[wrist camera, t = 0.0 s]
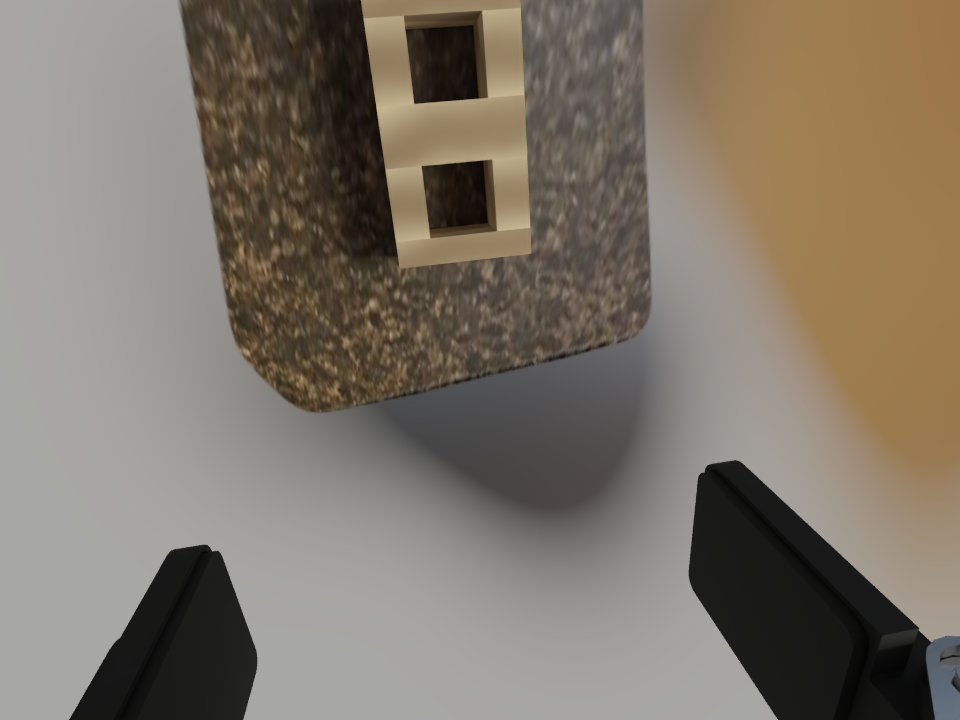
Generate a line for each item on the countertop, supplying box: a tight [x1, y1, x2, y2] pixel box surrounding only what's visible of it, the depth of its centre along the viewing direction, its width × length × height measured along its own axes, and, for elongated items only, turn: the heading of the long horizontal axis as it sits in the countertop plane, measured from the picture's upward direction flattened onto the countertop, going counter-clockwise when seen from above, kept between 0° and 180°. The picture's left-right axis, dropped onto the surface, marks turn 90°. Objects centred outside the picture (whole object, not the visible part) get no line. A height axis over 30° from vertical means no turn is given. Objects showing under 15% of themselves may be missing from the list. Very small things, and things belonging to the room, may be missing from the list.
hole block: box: [361, 0, 531, 268], centre depth 34 cm, size 16×9×4 cm, turn 5°
